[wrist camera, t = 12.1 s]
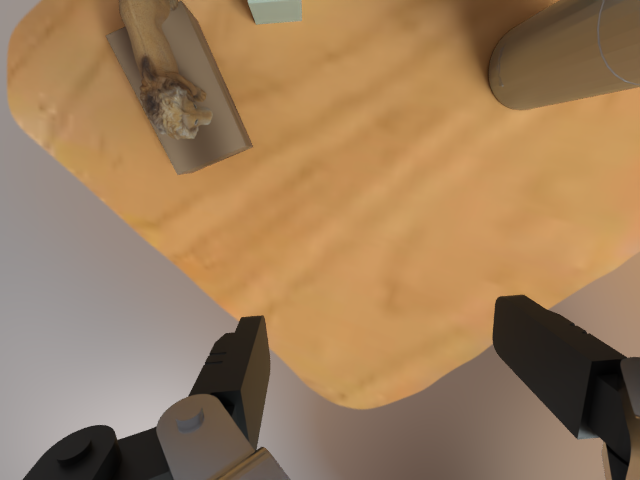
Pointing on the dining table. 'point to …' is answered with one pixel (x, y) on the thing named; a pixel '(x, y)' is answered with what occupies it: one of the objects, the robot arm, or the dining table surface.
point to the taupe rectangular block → (203, 72)
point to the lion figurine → (162, 71)
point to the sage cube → (275, 11)
